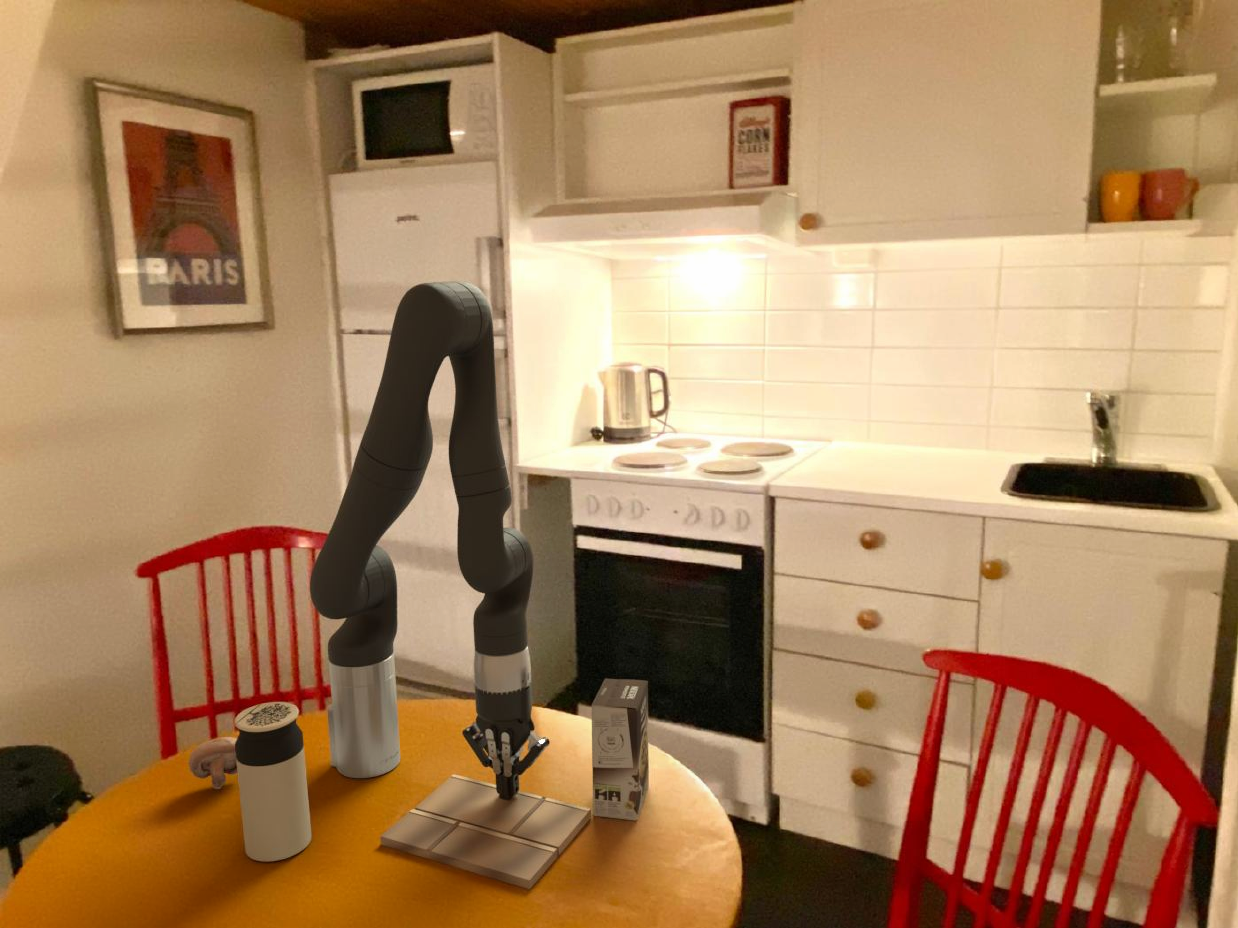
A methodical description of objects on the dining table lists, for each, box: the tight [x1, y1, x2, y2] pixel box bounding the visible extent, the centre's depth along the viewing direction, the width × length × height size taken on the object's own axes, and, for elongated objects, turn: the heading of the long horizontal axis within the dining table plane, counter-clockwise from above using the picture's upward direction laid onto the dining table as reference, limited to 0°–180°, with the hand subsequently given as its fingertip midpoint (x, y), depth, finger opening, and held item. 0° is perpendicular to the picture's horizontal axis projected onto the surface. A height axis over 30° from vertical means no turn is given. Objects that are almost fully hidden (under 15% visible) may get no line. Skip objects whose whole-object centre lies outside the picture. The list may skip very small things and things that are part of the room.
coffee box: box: [591, 678, 650, 821], centre depth 125 cm, size 9×6×16 cm
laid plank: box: [380, 808, 558, 890], centre depth 116 cm, size 22×7×1 cm, turn 65°
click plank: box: [414, 774, 592, 856], centre depth 123 cm, size 22×9×1 cm, turn 65°
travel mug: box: [234, 701, 312, 862], centre depth 116 cm, size 8×8×18 cm
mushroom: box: [188, 736, 238, 790], centre depth 131 cm, size 8×6×8 cm
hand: (508, 796), depth 126 cm, fingers closed
